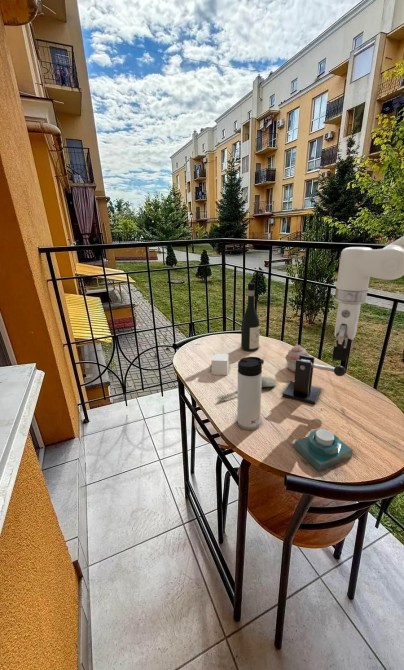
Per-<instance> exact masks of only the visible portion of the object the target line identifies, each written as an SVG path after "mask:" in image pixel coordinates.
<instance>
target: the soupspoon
mask: <svg viewBox="0 0 404 670" xmlns="http://www.w3.org/2000/svg"><path fill="white" fill-rule="evenodd" d="M275 386H276V383H274V381H273V380H272V379H269V378H267V377H262V385H261V388H263V387H265V388H267V387H268V388H269V387H270V388H271V387H275ZM236 394H238V390H236V391H233V392H231V393H229V394H226V395H224V396H219V400H220V402H224V400H225V399H227V398H229V397H231V396H233V395H236Z"/></svg>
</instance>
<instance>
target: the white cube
mask: <svg viewBox="0 0 404 670" xmlns="http://www.w3.org/2000/svg"><path fill="white" fill-rule="evenodd" d="M229 356H230V355H229V354H228V353H213V354H212V357H211V361H210V363H211V375H215V376H216V375H217V376H219V375H220V376H228V374H229V369H230V368H229V367H230V365H229V364H230V363H229V362H230V361H229V358H230V357H229Z"/></svg>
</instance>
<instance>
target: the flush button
mask: <svg viewBox="0 0 404 670" xmlns="http://www.w3.org/2000/svg"><path fill="white" fill-rule="evenodd" d="M316 430H317V431H316V435H315V440H316V442H317V443H318V444H320V445H323V446H331V445H333V442H334V435H335V434H334V433H333V432H331V431H330V430H328V429H324V428H320V429H316ZM333 434H334V435H333Z"/></svg>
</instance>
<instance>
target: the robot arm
mask: <svg viewBox="0 0 404 670" xmlns="http://www.w3.org/2000/svg"><path fill="white" fill-rule="evenodd" d="M338 266H339V267H338V272H337V279H336V286H335V293H334V299H333V300H334V301H335V302H337V303H338V304H337V309H336V317H335V324H334V337H335V341H334V345H333V349H332V357H331V359H332V360H336V361H340V362H345V361H346V358H347V352H348V349H350V348H351V341H353V340H354V339H355V337H356V335H357V331H358V325H359V320H360V315H361V314H360V313H361V307H362V306H361V305H362V304H365V303H366V302H367V296H368V292H369V291H368V290H369V287H370V286H369V285H370V279H371V278H372V279H373V278H374V279H379V280H383V281H393V280H396V279H397V280H398V279H399V278H402V277H403V276H404V235H403V236H401V237H399V238H398V239H396V240H394V241H392V242H391V243H389V244H387V245H386V246H384V247H383V248H377V249H376V248H375V249H374V248H372V247H366V246H349V247H345V248H343V249H342V250H341V253H340V257H339V265H338Z"/></svg>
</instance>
